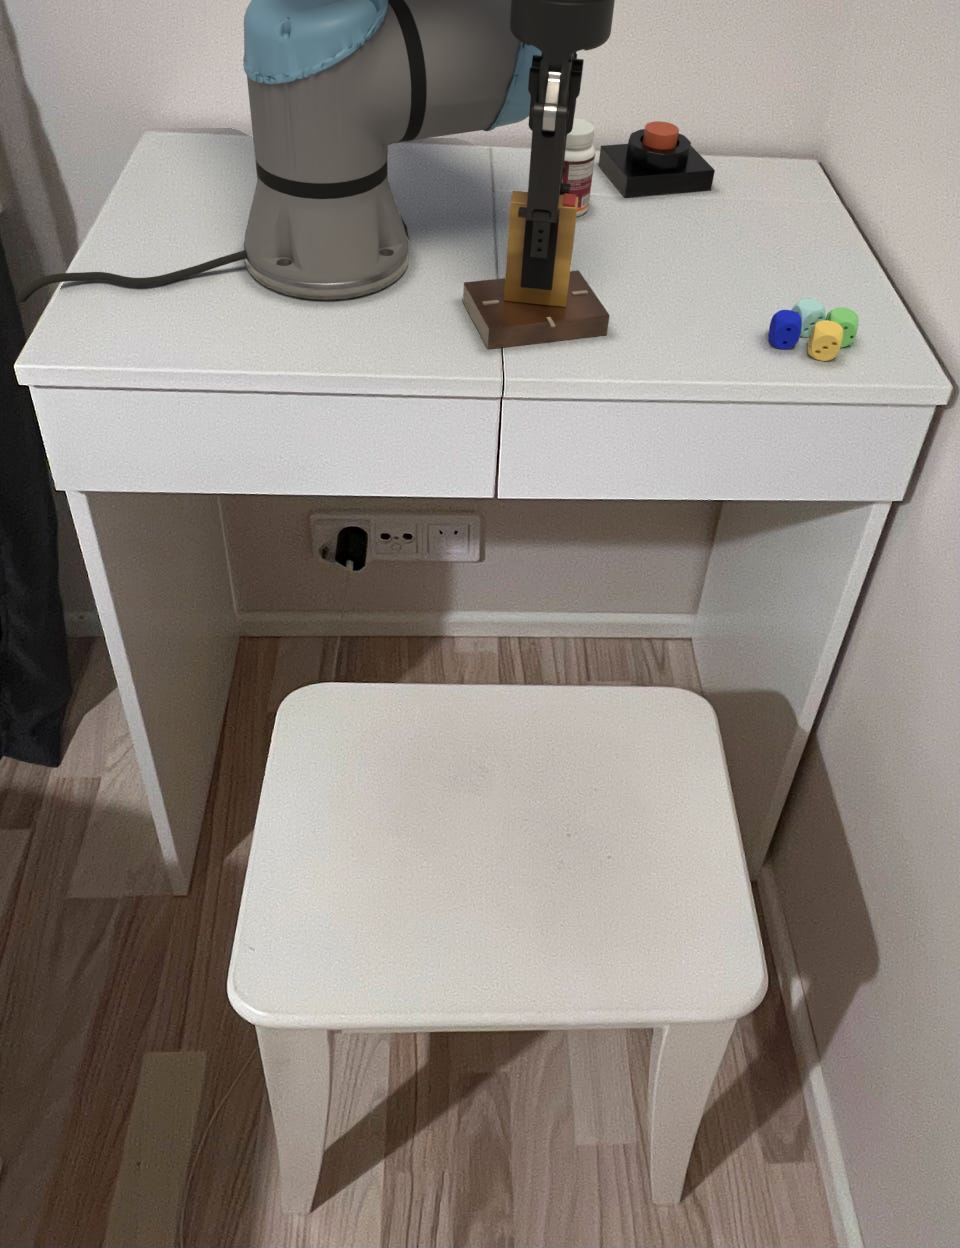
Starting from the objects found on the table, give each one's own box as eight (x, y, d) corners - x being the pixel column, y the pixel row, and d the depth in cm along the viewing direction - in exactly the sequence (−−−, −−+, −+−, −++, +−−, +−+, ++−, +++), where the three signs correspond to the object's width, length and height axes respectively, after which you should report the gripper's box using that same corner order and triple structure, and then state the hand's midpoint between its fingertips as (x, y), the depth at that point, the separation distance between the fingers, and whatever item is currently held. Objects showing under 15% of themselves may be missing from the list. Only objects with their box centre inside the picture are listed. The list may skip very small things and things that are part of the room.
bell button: (650, 153, 117) (652, 136, 116) (637, 138, 120) (639, 122, 118) (681, 150, 118) (684, 133, 117) (668, 136, 120) (670, 120, 119)
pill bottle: (534, 201, 116) (541, 119, 110) (574, 194, 118) (583, 113, 112) (555, 221, 113) (563, 138, 107) (596, 214, 115) (607, 131, 109)
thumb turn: (503, 301, 98) (510, 199, 91) (506, 288, 99) (513, 187, 93) (566, 307, 98) (577, 205, 91) (567, 294, 99) (578, 193, 93)
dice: (755, 330, 100) (789, 369, 96) (761, 304, 98) (797, 342, 94) (833, 319, 102) (870, 357, 98) (841, 293, 100) (879, 331, 96)
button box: (624, 198, 118) (630, 160, 115) (598, 165, 123) (602, 128, 120) (711, 190, 120) (718, 153, 117) (681, 158, 125) (687, 122, 122)
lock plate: (490, 354, 96) (491, 332, 94) (460, 297, 102) (461, 275, 100) (610, 340, 98) (613, 318, 96) (573, 285, 104) (575, 264, 103)
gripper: (613, 18, 75) (575, 328, 92) (620, -49, 85) (585, 241, 102) (502, 8, 75) (485, 319, 92) (522, -57, 86) (503, 232, 103)
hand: (537, 277), depth 97 cm, fingers closed on thumb turn, 2 cm apart
